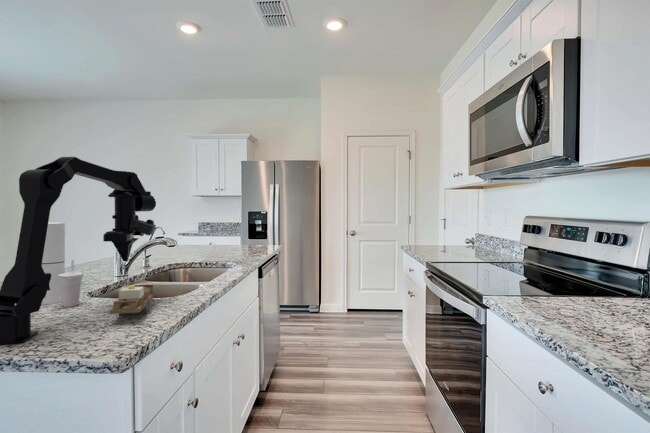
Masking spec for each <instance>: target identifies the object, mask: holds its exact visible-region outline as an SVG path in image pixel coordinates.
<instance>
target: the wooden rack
mask: <svg viewBox="0 0 650 433" xmlns="http://www.w3.org/2000/svg"><path fill="white" fill-rule="evenodd" d="M134 285H135V287H144V295H143V296H142V297H141V298H140V299H134V300H129V301H126V299H119V298H118V300H115V301H113V307H112V308H110V309H109V315H115V314H118V317H132V316H133V317H134V316H147V315H148V314H149V313H150V312H151V310H152V307H151V304H152V302H151V301H152V300H153V298H154V297H155V296H156V295H157V290H154V284H140V285H139V284H134ZM126 303H130V304H127V305H126Z"/></svg>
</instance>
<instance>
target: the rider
mask: <svg viewBox="0 0 650 433" xmlns="http://www.w3.org/2000/svg"><path fill="white" fill-rule="evenodd" d="M135 285H136V284H130V285H128V286H123V287H121V288H120V289H119V290H118V300H119V299H126V301H129V300H134V299H140V298H141V297H142V296H143V295H144V290H145V287H135ZM127 304H130V303H126V305H127Z"/></svg>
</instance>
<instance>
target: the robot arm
mask: <svg viewBox="0 0 650 433" xmlns="http://www.w3.org/2000/svg"><path fill="white" fill-rule="evenodd" d="M75 175H76V176H80V177H84V178H87V179H90V180H94V181H98V182H101V183H103V184H105V185H106V186H107V187H108V188H111V189H113V191H112V192H110V193H109V194H108V196H107V197H109V198H114V214H113V215H111V216H112V218H111V219H113V220H114V228H112V230H110V231H106V232H105V233H104V234H103V240H102V241H103V242H111V243H113V246H114V247H115V249H116V250H117V252H118V254H119V256H120V258H121V259H122V261H123V262H128V261H129V257H130V254H131V252H132V251H131V250H132V247H133V245H134V244H135V242H136V241H138V240H139V239H140V238H139V237H136V238H135V236H140V237H143V236H145V235H146V236H151V235H152V236H153V234H154V231H155V229H157V228H156V226H157V225H156V224H155V221H154V220H153V219H149V218H148V219H147V220H146V221H145V220H140V219H139V215H138V214H136V212H137V213H139V212H151V211H153V210H154V209H155V208H156V205H157V201H156V199H155V197H154V196H153V195H152V193H151V191H146V189H145V187H144V185H143V183H142V182H141V180H140V178H139V177H138V174H137V173H136V172H134V171H127V170H115V169H110V168H107V167H104V166H101V165H100V164H99V165H98V164H95V163H92V162H89V161H86V160H83V159H80V158H79V157H76V156H61V157H59V158H57V159H54V160H53V161H51V162H49V163H47V164H43V165H41V166H38V167H36V168H35V169H28V170H25V171H23V172H22V173H21V174H20V176H19V178H18V184H19V185H18V188H19V190H18V192H19V194H20V197H21V201H22V202H23V206H24V207H23V213H22V218H21V219H22V220H21V224H20V225H21V226H20V231H19V237H18V242H17V249H16V254H15V261H14V265H13V266H12V268H11V269H10V270H9V271H8V272H7V273H6V275H5V276H4V279H3V281H2V284H1V285H0V286H1V287H0V345H6V344H7V345H8V344H9V345H11V344H21V343H25V342H26V341H27V340H30V339H31V338H32V337H34V336H36V335H37V334H38V333H39V330H32V328H31V327H32V326H31V325H32V323H31V322H32V318H31V317H32V314H33V313H37V312H39V311H40V308H41V307H42V306H41V305H42V304H41V303H42V300H43V299H44V298H45V296H46V293H47V290H48V291H49V290H50V287H49V283H50V280H51V273H44V270H43V268H42V260H43V253H44V247H45V241H46V234H47V228H48V223H50V222H49V221H50V215H51V214H50V213H51V209H52V207H53V205H54V204H55V203H56V202H57V200H58V199H59V198H60V196H61V193H62V190H63V188H64V185H66V184H67V183H68V182H70V181H71V180H72V179H73V178H74V176H75Z"/></svg>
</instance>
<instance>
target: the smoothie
mask: <svg viewBox="0 0 650 433" xmlns="http://www.w3.org/2000/svg"><path fill="white" fill-rule="evenodd" d="M74 262H75V260H74V259H71V262H70V263H71V266H70V267H71V271H70V272H65V273H63V274H59V275H58V279H59V281H60V288H61V294H62V306H64V307H63V308H72V306H73V307H76V305H77V306H79V302H80V301H79V300H80V294H81V288H82V280H83V277H84V273H83V272H81V271H80V272H79V271H76V272H75V271H74V270H75V269H74V267H75V266H74V265H75V263H74Z"/></svg>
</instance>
